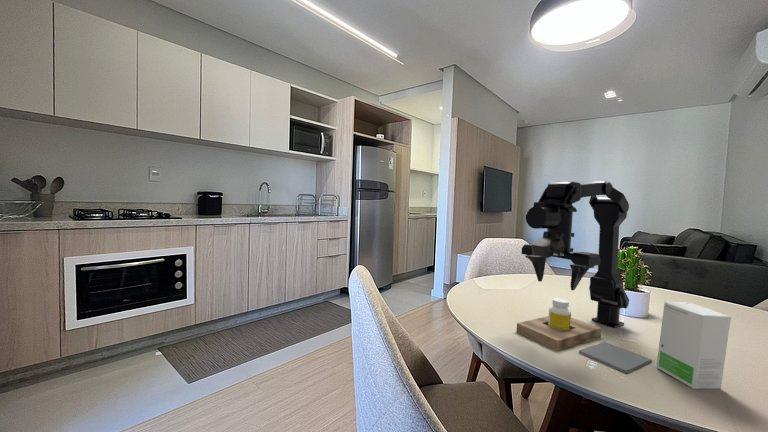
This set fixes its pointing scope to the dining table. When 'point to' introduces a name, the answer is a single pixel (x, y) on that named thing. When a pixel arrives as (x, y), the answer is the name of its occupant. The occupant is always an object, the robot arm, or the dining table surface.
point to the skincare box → (693, 344)
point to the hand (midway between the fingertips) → (555, 285)
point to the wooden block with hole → (558, 332)
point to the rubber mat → (615, 357)
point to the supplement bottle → (559, 315)
